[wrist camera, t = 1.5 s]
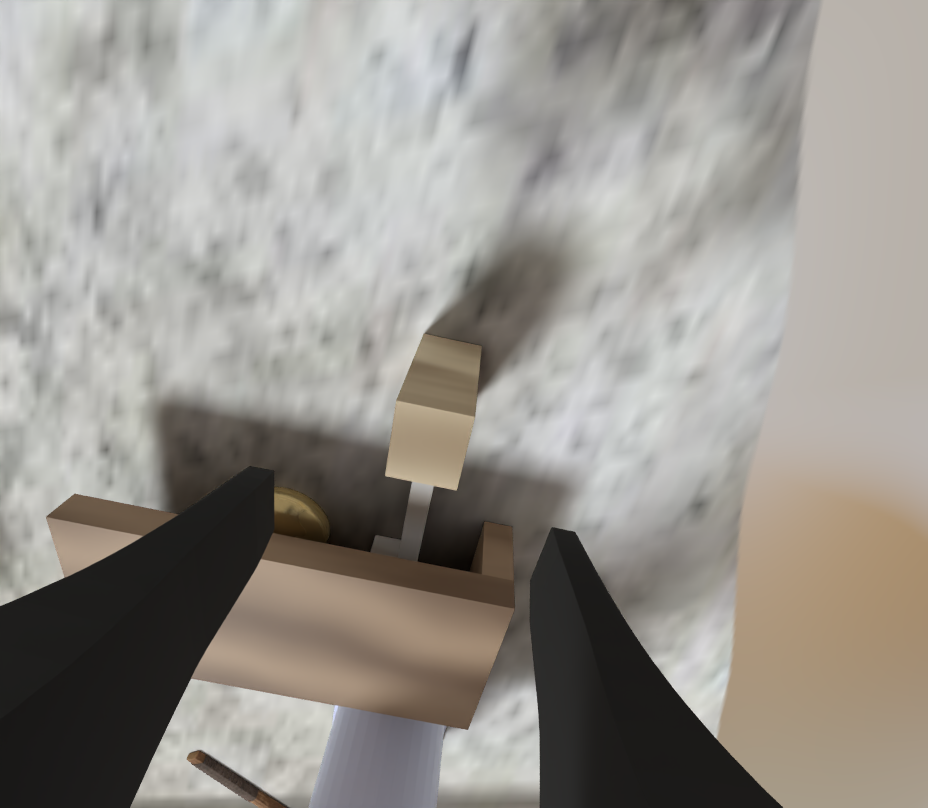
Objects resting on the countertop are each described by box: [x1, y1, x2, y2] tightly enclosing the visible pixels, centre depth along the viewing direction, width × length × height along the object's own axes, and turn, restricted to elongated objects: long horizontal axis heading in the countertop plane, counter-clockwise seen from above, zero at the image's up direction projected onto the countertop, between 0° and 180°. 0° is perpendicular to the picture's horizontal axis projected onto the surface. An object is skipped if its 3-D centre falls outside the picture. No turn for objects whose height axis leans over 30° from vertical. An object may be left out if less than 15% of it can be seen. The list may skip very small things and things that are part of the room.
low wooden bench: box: [46, 494, 515, 730], centre depth 24 cm, size 10×20×5 cm, turn 78°
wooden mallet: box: [370, 334, 482, 561], centre depth 20 cm, size 13×3×6 cm, turn 168°
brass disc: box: [273, 487, 330, 543], centre depth 25 cm, size 5×5×1 cm
